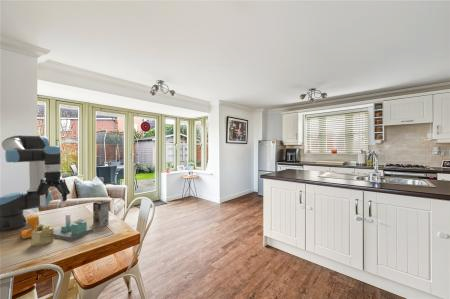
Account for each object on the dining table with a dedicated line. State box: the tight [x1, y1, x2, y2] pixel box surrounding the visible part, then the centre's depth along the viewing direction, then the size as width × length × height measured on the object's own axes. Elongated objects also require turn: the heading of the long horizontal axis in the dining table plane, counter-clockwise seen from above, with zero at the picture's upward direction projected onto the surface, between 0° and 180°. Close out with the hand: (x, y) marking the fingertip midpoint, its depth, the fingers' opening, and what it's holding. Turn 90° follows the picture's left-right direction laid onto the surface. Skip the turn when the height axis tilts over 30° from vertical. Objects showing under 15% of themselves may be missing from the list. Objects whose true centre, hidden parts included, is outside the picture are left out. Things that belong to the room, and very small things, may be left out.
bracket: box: [21, 214, 40, 239], centre depth 125 cm, size 11×7×12 cm, turn 51°
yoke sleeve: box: [31, 224, 55, 248], centre depth 116 cm, size 7×7×10 cm
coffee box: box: [92, 200, 110, 227], centre depth 144 cm, size 9×6×16 cm
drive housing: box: [54, 213, 94, 242], centre depth 128 cm, size 20×14×12 cm
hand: (53, 205), depth 120 cm, fingers open, 13 cm apart
